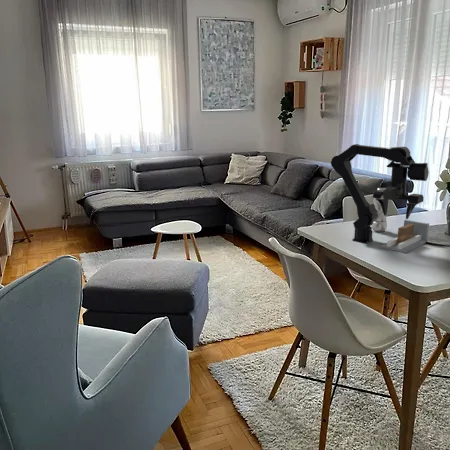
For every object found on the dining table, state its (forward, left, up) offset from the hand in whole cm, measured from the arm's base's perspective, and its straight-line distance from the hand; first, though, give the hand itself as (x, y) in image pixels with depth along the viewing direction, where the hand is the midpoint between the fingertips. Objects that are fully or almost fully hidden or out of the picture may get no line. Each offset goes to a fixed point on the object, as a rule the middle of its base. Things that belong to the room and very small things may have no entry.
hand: (395, 217), depth 179 cm
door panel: (+3, +4, -11) cm, 12 cm away
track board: (+3, +4, -12) cm, 13 cm away
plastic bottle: (-15, +16, -12) cm, 25 cm away
